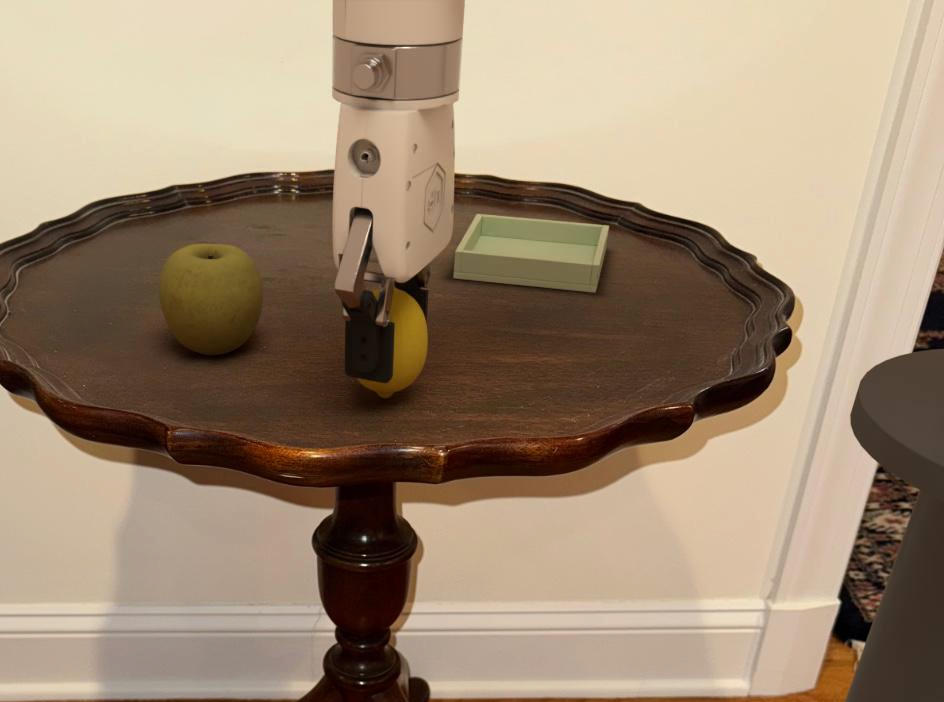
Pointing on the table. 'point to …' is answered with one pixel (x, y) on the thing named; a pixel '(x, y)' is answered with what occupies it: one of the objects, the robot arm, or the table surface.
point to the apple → (211, 297)
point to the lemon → (403, 344)
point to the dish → (532, 252)
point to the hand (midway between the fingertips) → (386, 357)
